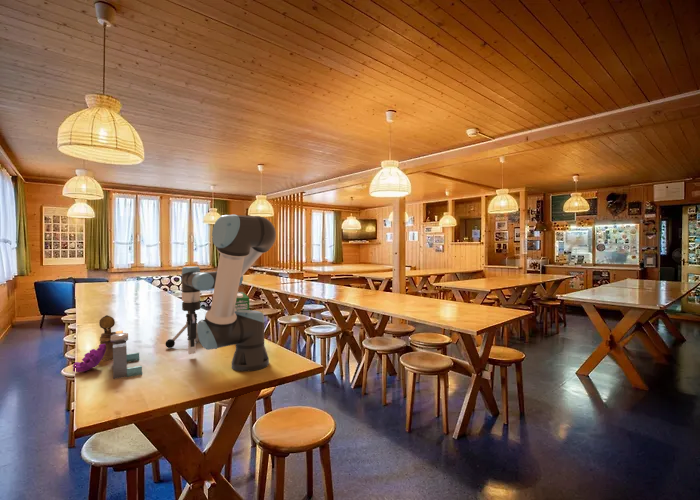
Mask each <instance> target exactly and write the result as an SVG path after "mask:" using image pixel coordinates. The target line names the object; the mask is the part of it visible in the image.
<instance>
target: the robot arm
mask: <svg viewBox="0 0 700 500" xmlns="http://www.w3.org/2000/svg"><path fill="white" fill-rule="evenodd" d="M276 232H277V230H276V228H275V226H274V225H273V223H272V222H271V221H270V220H269V219H268V218H266V217H265V216H259V215H241V214H235V213H234V214H224V215H220V216H219V217H218V218H217V220H216V221H215V223H214V224H213V228H212V233H211V236H212V243H213V245H214V246H215V247H216V250H217V252H218V253H219V257H218V258H219V259H218V266H217V271H215V270H214V271H204V272H203V271H201V269H200V268H201V267H199V266H184V267H182V268H181V301H182V302H181V307H182V308H181V310H182V311H184V312H187V313H186V314H185V317H186V322H187V328H186V330H187V342H188V343H187V344H188V346H187V347H188V350H187V351H188V355H194V354H196V342H195V339H196V324H197V323H198V324H197V333H198V337H199V340H200V342H199V343H200V345H201V347H203V349H205V350H207V351H208V350H209V351H210V350H218V349H220V348H224V347H229V346H234V345H235V350H234V353H233V357H232V360H231V369H232V370H233V371H237V372H254V371H259V370H262V369H265V368H266V367H267V368H268V366H269V365H270V361H269V360H270V359H269V356H268V353H267V352H268V351H267V350H266V347H265V322H266V321H265V315H264V313H263V312H262V311H260V310H251V309H249V310H238V311H236V312H235V313H234V309H235V304H236V298H237V293H238V292H239V288H240V286H242V284H243V281H244V274H245V273H246V272H247V271H248V270H250V268H251V266H253V264H254V263H255V262H256V261H257V260H258V259H259V258H260V257H261V256H262V254H265V253H267V252H268V251H269V250H270V249H272V247H273V246H274V244H275V241H276V238H277V233H276ZM209 290H213V293H212V298H211V299H212V300H211V305H210V309H209V310H207V311H206V313H205V316H204V319H200V320H199V321H198V314H197V313H196V311H199V310H200V309H201V301H200V300H201V296H202V291H209Z"/></svg>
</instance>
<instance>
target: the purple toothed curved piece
mask: <svg viewBox="0 0 700 500" xmlns="http://www.w3.org/2000/svg"><path fill="white" fill-rule="evenodd" d="M105 351H106V344H101V345H100V344H99V345H98V348H97V349H95V348H91V350H89V352H86V353H85V354H84V357H83V358H82V359H81V360H82V361H80V362H79V361H78V362H77V361H76V362H74V363H73V365H72V372H75V368H76V372H75V373H83V372H88V371H90V370H91V369H94V368H95V367H97V366H98V365H99V364H100V363H101V361H103V360H102V358H103V356H104V354H105ZM75 365H76V366H75Z"/></svg>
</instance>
